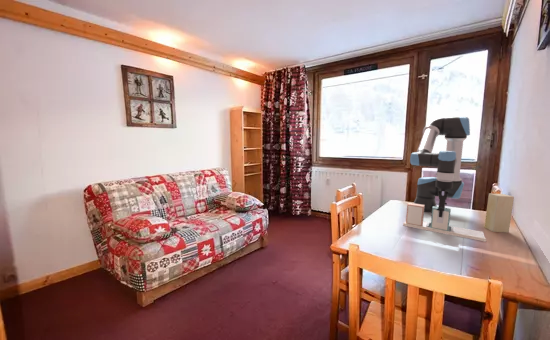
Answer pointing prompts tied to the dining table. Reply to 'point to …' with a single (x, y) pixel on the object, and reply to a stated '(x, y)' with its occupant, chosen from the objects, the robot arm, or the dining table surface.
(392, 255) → the dining table surface
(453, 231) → the shelf
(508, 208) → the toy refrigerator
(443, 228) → the teal carton
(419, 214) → the terracotta carton
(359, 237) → the dining table surface
